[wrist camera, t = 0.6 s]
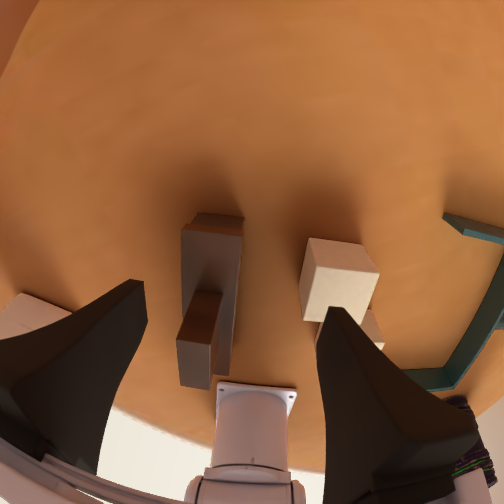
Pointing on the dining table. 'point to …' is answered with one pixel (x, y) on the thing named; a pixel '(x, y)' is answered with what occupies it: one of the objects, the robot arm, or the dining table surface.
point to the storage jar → (472, 449)
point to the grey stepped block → (208, 297)
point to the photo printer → (27, 315)
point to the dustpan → (484, 323)
